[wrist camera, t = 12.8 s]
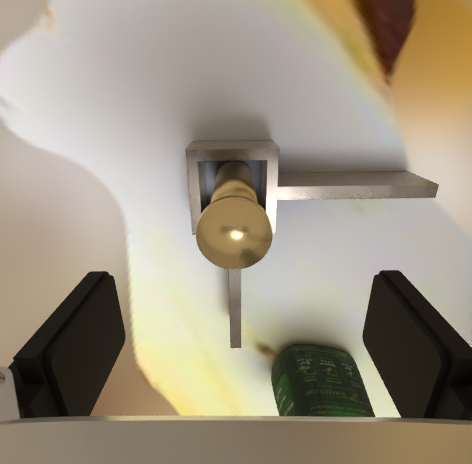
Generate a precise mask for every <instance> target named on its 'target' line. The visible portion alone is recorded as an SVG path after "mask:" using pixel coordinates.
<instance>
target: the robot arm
mask: <svg viewBox="0 0 472 464" xmlns="http://www.w3.org/2000/svg"><path fill="white" fill-rule="evenodd" d="M124 342H125V330H124V325H123V320H122V315H121V310H120V305H119V300H118V296H117V290H116V285H115V280H114V277H113V276H112V275H109V273H108V272H106V271H102V272H89V273H88V274H87V275H86V276H85V277H84V278H83V279H82V281H81V282H80V283H79V284H78V285H77V286H76V287H75V288H74V290H73V291H72V292H71V293H70V294H69V295H68V296H67V298H66V299H65V300H64V301H63V302H62V303H61V304H60V306H59V307H58V308H57V309H56V310H55V311H54V312H53V313H52V314H51V316H50V317H49V318H48V319H47V320H46V321H45V323H44V324H43V325H42V326H41V327H40V328H39V329H38V330H37V331H36V333H35V334H34V335H33V336H32V337H31V338H30V339H29V341H28V342H27V343H26V344H25V345H24V346H23V347H22V349H21V350H20V351H19V352H18V353H17V354H16V355H15V356H14V357H13V359H14V361H13V363H12V364H11V365H10V366H9V367H8V368H6V367H0V464H472V348H471V347H470V346H469V345H468V343H467V342H466V341H465V340H464V339H463V338H462V337H461V336H460V335H459V334H458V333H457V332H456V331H455V330H454V328H453V327H452V326H451V325H450V324H449V323H448V322H447V321H446V320H445V319H444V318H443V317H442V316H441V315H440V313H439V312H438V311H437V310H436V309H435V308H434V307H433V306H432V305H431V304H430V303H429V302H428V301H427V300H426V298H425V297H424V296H423V295H422V294H421V293H420V292H419V291H418V290H417V289H416V288H415V287H414V286H413V285H412V284H411V282H410V281H409V280H408V279H407V278H406V277H405V276H404V275H403V274H402V273H401V272H400V271H398V270H382V271H380V273H379V275H375V276H374V279H373V284H372V289H371V294H370V299H369V304H368V309H367V315H366V320H365V325H364V330H363V342H364V345H365V347H366V349H367V351H368V353H369V355H370V357H371V359H372V360H373V362H374V364H375V366H376V368H377V370H378V372H379V374H380V376H381V378H382V380H383V382H384V384H385V386H386V388H387V390H388V392H389V394H390V396H391V398H392V400H393V402H394V404H395V406H396V408H397V410H398V412H399V414H400V416H401V418H392V417H310V416H90V414H91V412H92V410H93V408H94V406H95V403H96V401H97V399H98V397H99V395H100V393H101V391H102V389H103V387H104V385H105V383H106V381H107V378H108V376H109V374H110V372H111V370H112V368H113V366H114V364H115V362H116V359H117V358H118V356H119V353H120V351H121V349H122V347H123V345H124Z"/></svg>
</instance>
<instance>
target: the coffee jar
mask: <svg viewBox="0 0 472 464" xmlns="http://www.w3.org/2000/svg"><path fill="white" fill-rule="evenodd" d="M271 380H272V386H273V392H274V396H275V400H276V404H277V408H278V412H279V416H310V417H375V415H374V412H373V409H372V406H371V404H370V401H369V398H368V395H367V392H366V389H365V386H364V383H363V380H362V378H361V375H360V372H359V370H358V368H357V365H356V363H355V361H354V359H353V358H352V357H351V356H350V355H349V354H347V353H345V352H343V351H340V350H337V349H333V348H328V347H323V346H316V345H306V344H297V345H292V346H290V347H288V348H287V349H285V350H284V351H282V352H281V354H280V355H279V356H278V358H277V360H276V362H275V364H274V367H273V370H272V376H271Z"/></svg>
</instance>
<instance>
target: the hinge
mask: <svg viewBox="0 0 472 464" xmlns="http://www.w3.org/2000/svg"><path fill="white" fill-rule="evenodd" d="M186 159H187V172H188V185H189V197H190V210H191V222H192V235H196V230H197V225H198V222H199V219H200V216H201V214H202V212H203V211H204V209H205V208H206V207H207V202H206V184H205V166H204V161H226V160H262V183H261V205H260V206H261V207H262V208H263V209H264V210H265V212H266V213H267V215H268V217H269V220H270V224H271V228H272V233H275V231H276V208H277V200H297V199H369V198H435V197H436V193H437V190H438V186H439V185H438V184H436V183H434V182H431V181H429V180H427V179H424V178H422V177H420V176H417V175H415V174H413V173H410V172H408V171H379V172H307V173H278V163H279V148H278V146H277V145H276V144H275V143H274V142H273V141H272V140H237V141H193V142H192V143H191V144H190V146H189V147H188V148H187V149H186ZM229 304H230V342H231V348H241V272H240V269H229Z"/></svg>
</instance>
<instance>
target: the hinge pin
mask: <svg viewBox="0 0 472 464" xmlns="http://www.w3.org/2000/svg"><path fill="white" fill-rule="evenodd" d="M196 239H197V244H198V247H199V249H200V251H201V252H202V254H203V255H204V256H205V257H206V258H207V259H208V260H209V261H210V262H212V263H213V264H215V265H217V266H219V267H222V268H226V269H242V268H246V267H249V266H251V265H254V264H255V263H257V262H258V261H260V260H261V259H262V258H263V257H264V256H265V254H266V253H267V251H268V250H269V248H270V245H271V242H272V228H271V224H270V220H269V217H268V215H267V213H266V212H265V210H264V209H263V208H262V207H261V206H260V205H259V204H258V200H257V196H256V191H255V187H254V182H253V178H252V174H251V171H250V169H249V168H248V167H247V166H246V165H245V164H243V163H241V162H237V161H232V162H228V163H226V164H224V165H223V166H222V167H221V168H220V169H219V171H218V173H217V176H216V181H215V185H214V190H213V194H212V198H211V203H210V204H209V205H208V206H207V207H206V208H205V209H204V211H203V212H202V214H201V216H200V219H199V222H198V225H197V230H196Z"/></svg>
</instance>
